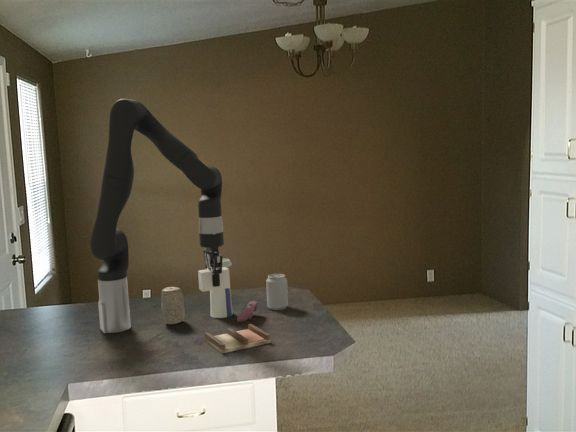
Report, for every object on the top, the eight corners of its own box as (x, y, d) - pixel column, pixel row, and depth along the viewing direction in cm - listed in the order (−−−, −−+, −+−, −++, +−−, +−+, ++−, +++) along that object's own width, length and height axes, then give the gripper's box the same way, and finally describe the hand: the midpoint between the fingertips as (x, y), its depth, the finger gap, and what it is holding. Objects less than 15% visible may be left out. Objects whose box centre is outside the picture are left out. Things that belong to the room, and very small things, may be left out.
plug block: (202, 291, 182) (201, 272, 181) (199, 289, 186) (197, 270, 185) (230, 287, 185) (229, 269, 185) (226, 285, 189) (225, 266, 188)
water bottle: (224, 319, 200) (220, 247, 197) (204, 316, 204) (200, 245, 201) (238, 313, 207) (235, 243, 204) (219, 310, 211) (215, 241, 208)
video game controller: (247, 327, 196) (255, 309, 194) (235, 321, 196) (243, 303, 195) (254, 318, 205) (262, 301, 204) (243, 312, 206) (251, 295, 204)
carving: (161, 321, 200) (159, 287, 199) (183, 318, 203) (181, 284, 201) (163, 327, 194) (161, 291, 193) (186, 324, 197) (184, 289, 195)
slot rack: (221, 353, 168) (221, 345, 167) (205, 340, 179) (204, 333, 179) (270, 342, 175) (270, 334, 175) (251, 331, 186) (251, 323, 186)
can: (265, 306, 214) (263, 274, 213) (284, 303, 216) (283, 271, 215) (270, 311, 207) (269, 278, 205) (290, 309, 209) (289, 276, 208)
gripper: (193, 229, 188) (197, 281, 190) (205, 235, 175) (208, 291, 177) (216, 227, 191) (219, 278, 193) (229, 232, 178) (232, 287, 180)
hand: (214, 284), depth 185 cm, fingers closed on plug block, 4 cm apart
